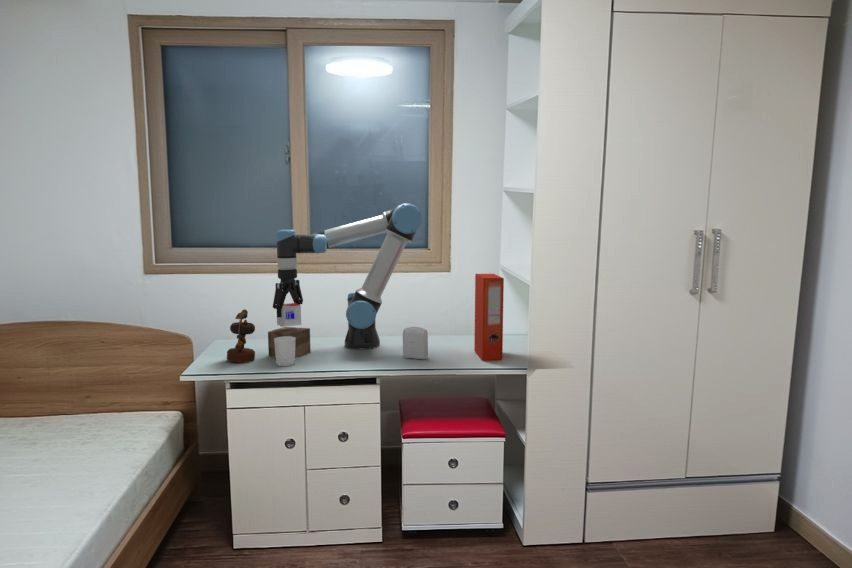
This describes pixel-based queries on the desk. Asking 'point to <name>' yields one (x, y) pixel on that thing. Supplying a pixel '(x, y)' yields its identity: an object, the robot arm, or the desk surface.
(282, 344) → the white cup
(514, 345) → the desk surface
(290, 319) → the red white patterned cube
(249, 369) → the desk surface
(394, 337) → the desk surface
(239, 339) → the brown tall carved piece
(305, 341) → the walnut pedestal
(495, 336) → the file binder
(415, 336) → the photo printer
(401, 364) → the desk surface
